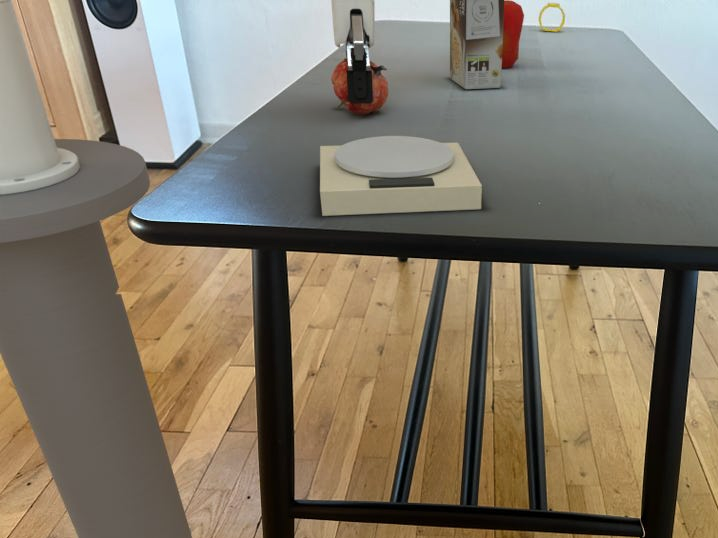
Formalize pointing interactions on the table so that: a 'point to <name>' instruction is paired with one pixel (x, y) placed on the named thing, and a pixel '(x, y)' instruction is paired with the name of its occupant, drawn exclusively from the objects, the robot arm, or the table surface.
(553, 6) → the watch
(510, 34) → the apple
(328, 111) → the table surface
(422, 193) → the scale
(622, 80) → the table surface
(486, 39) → the coffee box
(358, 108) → the pomegranate
